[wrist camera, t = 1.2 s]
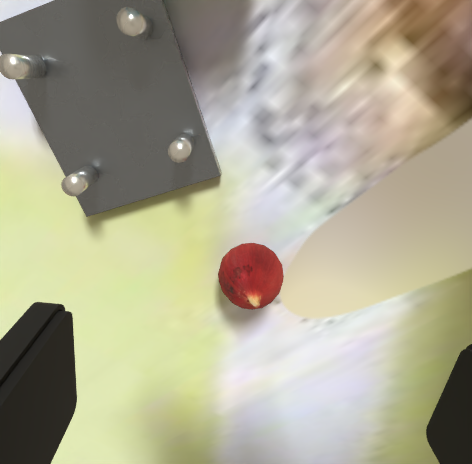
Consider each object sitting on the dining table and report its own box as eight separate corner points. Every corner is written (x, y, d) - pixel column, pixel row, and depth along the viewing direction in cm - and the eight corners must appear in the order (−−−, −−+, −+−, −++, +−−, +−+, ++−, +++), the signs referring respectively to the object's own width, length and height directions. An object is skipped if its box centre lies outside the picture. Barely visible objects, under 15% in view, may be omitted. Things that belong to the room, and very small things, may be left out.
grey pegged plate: (152, -33, 26) (134, -53, 22) (221, 171, 33) (218, 187, 28) (-3, 28, 28) (-46, 21, 24) (91, 211, 34) (70, 232, 30)
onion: (215, 274, 37) (209, 325, 30) (227, 224, 35) (223, 265, 27) (270, 285, 38) (278, 337, 30) (285, 236, 35) (297, 279, 28)
